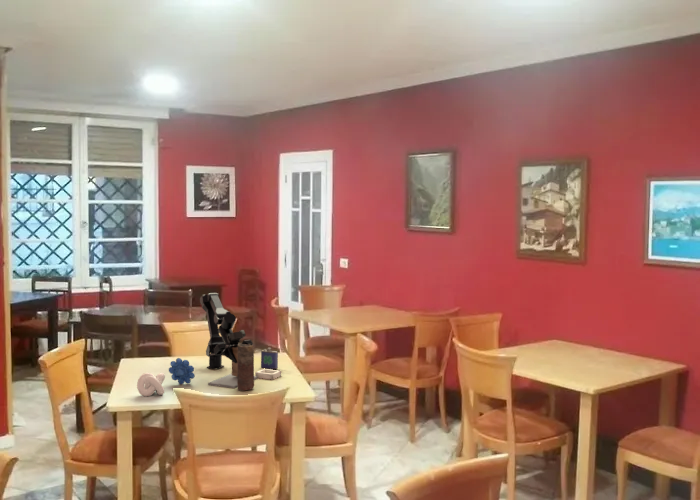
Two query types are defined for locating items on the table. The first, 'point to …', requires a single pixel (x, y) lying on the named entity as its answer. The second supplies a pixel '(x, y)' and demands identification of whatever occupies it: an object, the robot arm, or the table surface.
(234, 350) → the brown wooden block
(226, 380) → the serving board
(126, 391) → the table surface
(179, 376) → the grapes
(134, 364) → the table surface
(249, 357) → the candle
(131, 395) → the table surface
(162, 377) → the pink knotted tube
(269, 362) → the flask
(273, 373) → the socket frame
